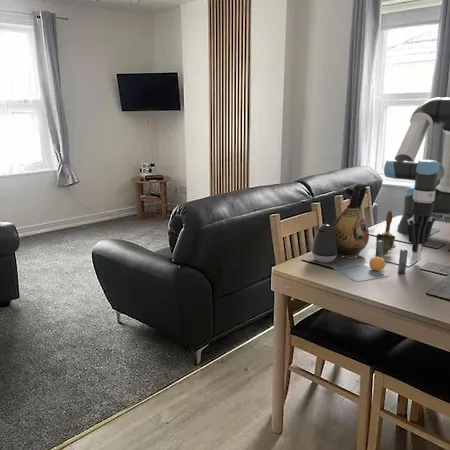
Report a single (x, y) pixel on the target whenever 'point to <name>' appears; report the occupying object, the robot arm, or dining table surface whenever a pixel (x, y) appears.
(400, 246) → the dining table surface
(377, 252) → the gate post
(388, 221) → the hand bell
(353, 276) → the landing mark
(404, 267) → the gate post
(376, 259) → the ball
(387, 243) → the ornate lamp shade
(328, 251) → the grey smart speaker
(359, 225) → the ceramic jug
